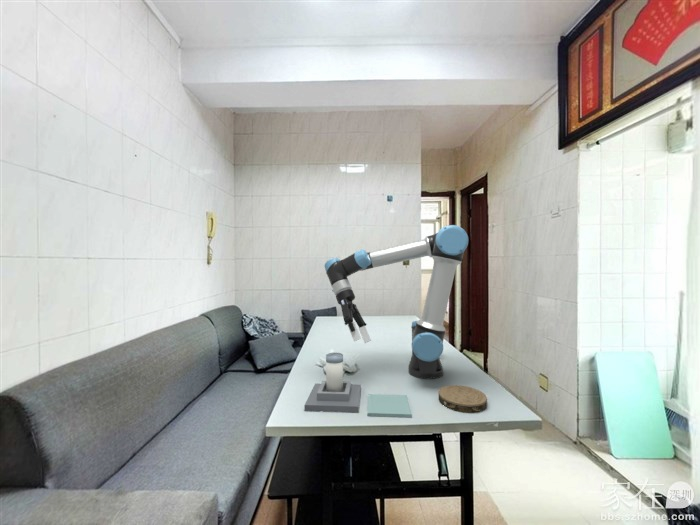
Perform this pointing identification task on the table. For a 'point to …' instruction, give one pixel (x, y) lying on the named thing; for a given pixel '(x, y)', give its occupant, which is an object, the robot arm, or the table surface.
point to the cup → (334, 372)
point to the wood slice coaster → (463, 399)
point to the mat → (388, 405)
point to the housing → (334, 398)
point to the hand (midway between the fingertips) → (362, 341)
